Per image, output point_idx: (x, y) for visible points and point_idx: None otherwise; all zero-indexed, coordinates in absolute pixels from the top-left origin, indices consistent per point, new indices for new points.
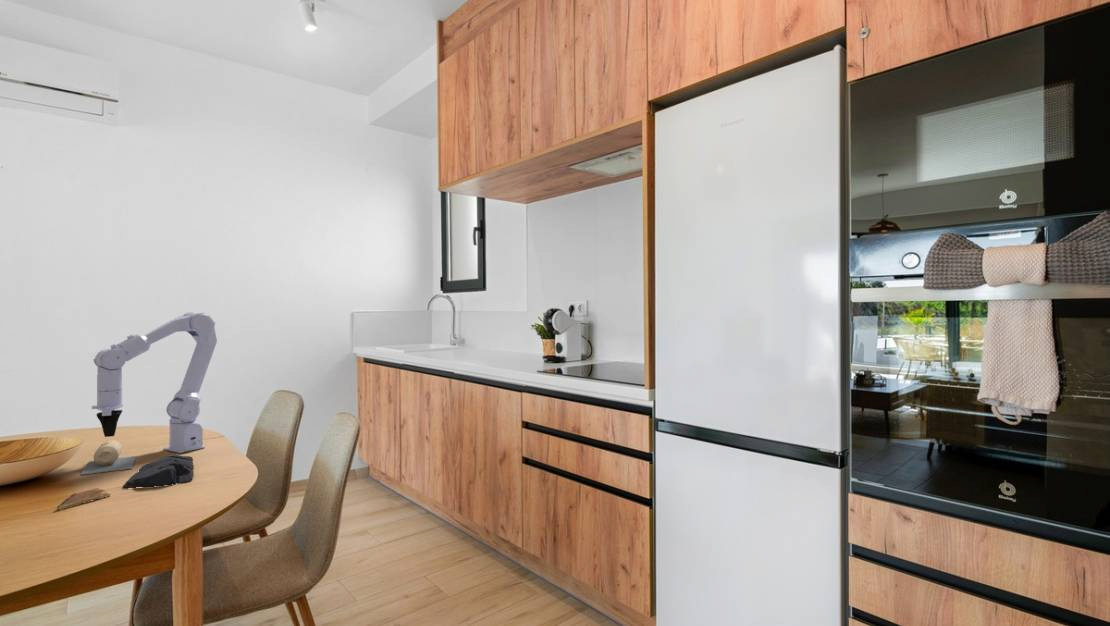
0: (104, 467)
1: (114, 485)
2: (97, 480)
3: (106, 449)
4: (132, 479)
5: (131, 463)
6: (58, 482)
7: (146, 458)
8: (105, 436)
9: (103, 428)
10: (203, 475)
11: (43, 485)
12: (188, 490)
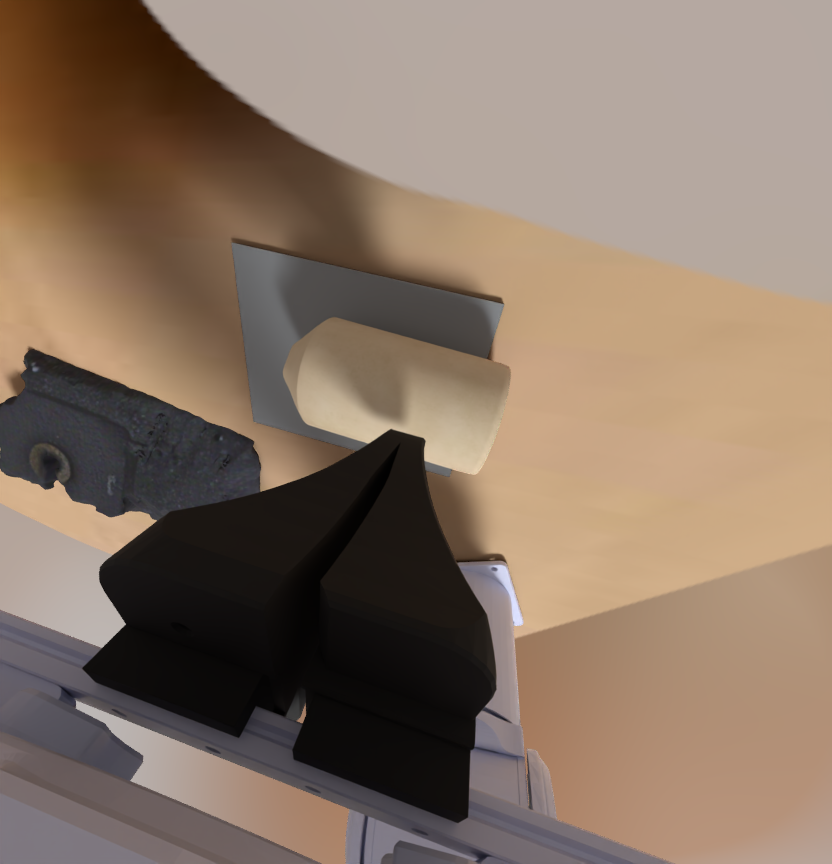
0: None
1: (68, 338)
2: (138, 298)
3: (289, 387)
4: (36, 385)
5: (327, 436)
6: (141, 129)
7: None
8: (385, 432)
9: (346, 460)
10: (130, 513)
11: (99, 39)
12: None
